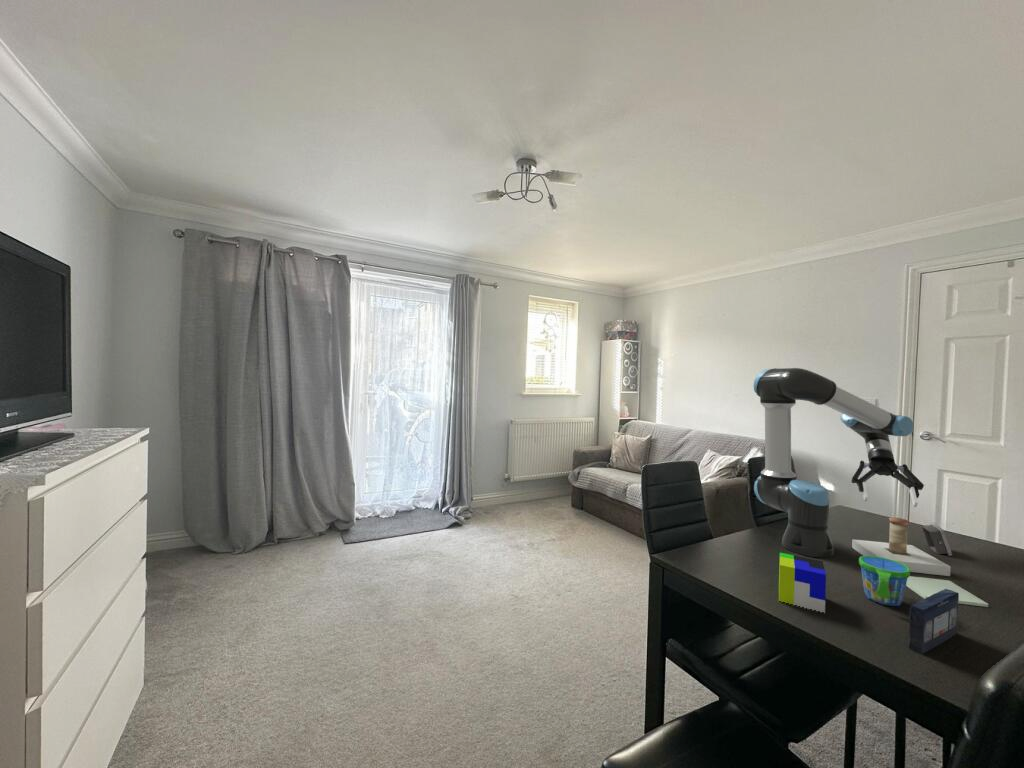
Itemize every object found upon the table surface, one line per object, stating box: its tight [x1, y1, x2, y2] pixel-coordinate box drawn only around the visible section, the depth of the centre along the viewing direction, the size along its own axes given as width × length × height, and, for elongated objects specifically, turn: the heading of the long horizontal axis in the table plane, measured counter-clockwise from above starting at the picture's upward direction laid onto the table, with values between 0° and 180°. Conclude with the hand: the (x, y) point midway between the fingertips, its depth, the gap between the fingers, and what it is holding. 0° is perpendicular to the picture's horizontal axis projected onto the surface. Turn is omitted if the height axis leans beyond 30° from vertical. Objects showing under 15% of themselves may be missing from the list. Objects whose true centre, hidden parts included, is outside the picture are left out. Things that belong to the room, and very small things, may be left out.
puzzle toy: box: [778, 552, 827, 614], centre depth 116 cm, size 10×10×10 cm
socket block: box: [851, 539, 951, 577], centre depth 143 cm, size 18×18×3 cm
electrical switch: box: [921, 522, 953, 557], centre depth 153 cm, size 9×5×9 cm, turn 152°
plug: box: [888, 516, 909, 555], centre depth 143 cm, size 5×5×14 cm
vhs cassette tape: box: [907, 589, 959, 655], centre depth 98 cm, size 18×3×10 cm, turn 115°
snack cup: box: [858, 555, 911, 607], centre depth 116 cm, size 16×10×10 cm
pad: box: [906, 575, 989, 608], centre depth 122 cm, size 14×14×1 cm
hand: (890, 502), depth 152 cm, fingers open, 13 cm apart
